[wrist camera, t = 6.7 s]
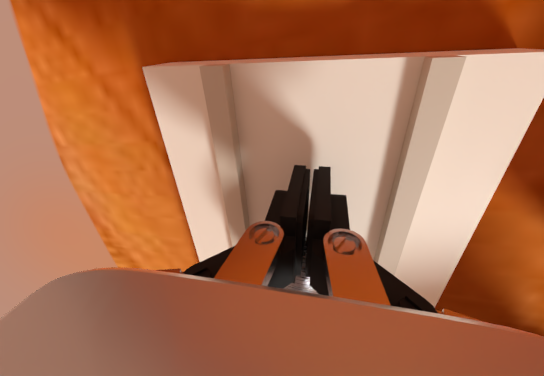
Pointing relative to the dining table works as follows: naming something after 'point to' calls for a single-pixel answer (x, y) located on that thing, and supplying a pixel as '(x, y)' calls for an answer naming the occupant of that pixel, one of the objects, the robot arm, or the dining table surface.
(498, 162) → the white tray
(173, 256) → the dining table surface
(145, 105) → the dining table surface
